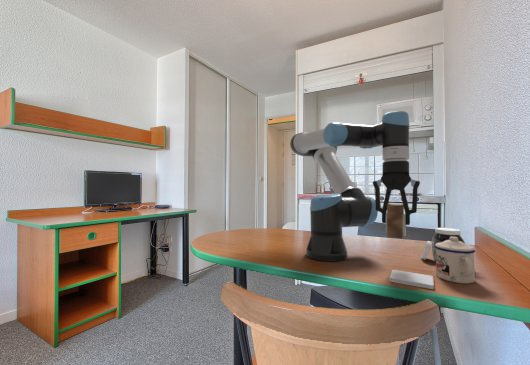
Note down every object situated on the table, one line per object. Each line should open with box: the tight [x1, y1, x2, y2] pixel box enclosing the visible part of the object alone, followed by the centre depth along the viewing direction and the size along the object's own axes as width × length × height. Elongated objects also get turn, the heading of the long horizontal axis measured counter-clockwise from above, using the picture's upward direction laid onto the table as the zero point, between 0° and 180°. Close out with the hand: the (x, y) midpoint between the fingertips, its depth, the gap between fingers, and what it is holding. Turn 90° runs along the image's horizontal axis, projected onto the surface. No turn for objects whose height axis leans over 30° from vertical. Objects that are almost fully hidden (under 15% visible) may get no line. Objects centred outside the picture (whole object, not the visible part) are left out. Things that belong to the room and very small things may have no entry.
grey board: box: [389, 269, 435, 290], centre depth 68 cm, size 10×8×1 cm
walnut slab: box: [386, 202, 405, 239], centre depth 78 cm, size 4×8×10 cm, turn 147°
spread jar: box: [420, 227, 466, 263], centre depth 84 cm, size 12×11×12 cm
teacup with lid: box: [435, 237, 476, 285], centre depth 68 cm, size 12×9×12 cm
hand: (395, 234), depth 78 cm, fingers closed on walnut slab, 4 cm apart
